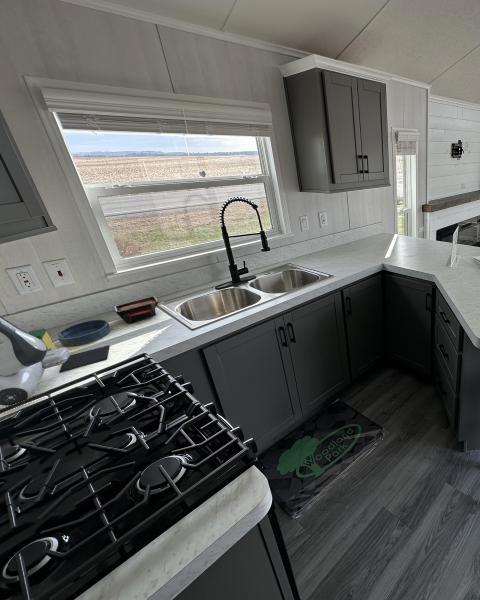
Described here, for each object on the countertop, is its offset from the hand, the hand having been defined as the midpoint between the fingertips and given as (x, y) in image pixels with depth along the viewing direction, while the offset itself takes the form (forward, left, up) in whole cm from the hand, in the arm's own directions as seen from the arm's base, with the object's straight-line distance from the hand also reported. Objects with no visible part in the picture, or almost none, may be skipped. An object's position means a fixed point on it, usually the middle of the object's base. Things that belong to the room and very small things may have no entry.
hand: (35, 353), depth 123 cm
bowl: (+20, +13, -7) cm, 25 cm away
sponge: (+4, +6, -7) cm, 10 cm away
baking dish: (+42, +11, -7) cm, 44 cm away
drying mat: (+10, -8, -7) cm, 14 cm away
